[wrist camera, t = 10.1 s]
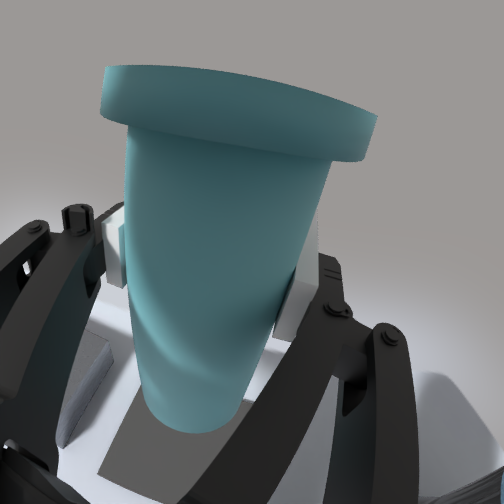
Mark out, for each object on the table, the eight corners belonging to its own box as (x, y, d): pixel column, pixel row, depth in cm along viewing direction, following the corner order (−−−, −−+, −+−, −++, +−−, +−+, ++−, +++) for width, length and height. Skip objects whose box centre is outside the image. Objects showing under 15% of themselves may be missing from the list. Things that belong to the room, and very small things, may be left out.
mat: (268, 410, 28) (270, 407, 28) (243, 524, 16) (244, 524, 16) (149, 372, 29) (148, 369, 29) (98, 475, 17) (97, 473, 17)
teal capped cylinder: (263, 360, 19) (354, 109, 10) (239, 461, 12) (423, 132, 4) (158, 326, 19) (178, 72, 10) (109, 414, 13) (42, 71, 4)
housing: (113, 361, 29) (108, 340, 27) (62, 449, 18) (48, 436, 16) (38, 320, 29) (29, 298, 27) (-15, 387, 18) (-30, 368, 16)
